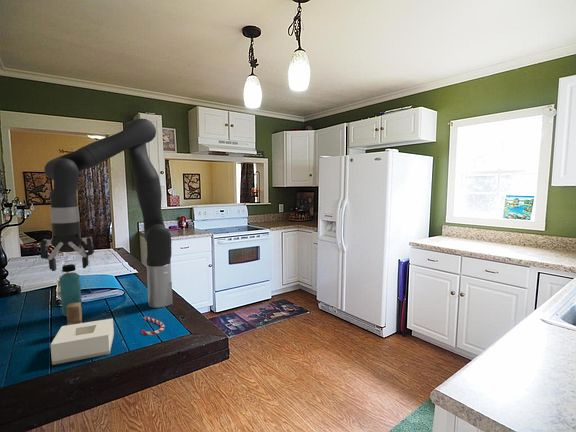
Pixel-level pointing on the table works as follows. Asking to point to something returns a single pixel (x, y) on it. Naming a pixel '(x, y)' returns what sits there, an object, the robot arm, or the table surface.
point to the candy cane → (156, 323)
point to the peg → (74, 313)
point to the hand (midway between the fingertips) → (69, 269)
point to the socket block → (82, 341)
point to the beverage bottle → (69, 287)
